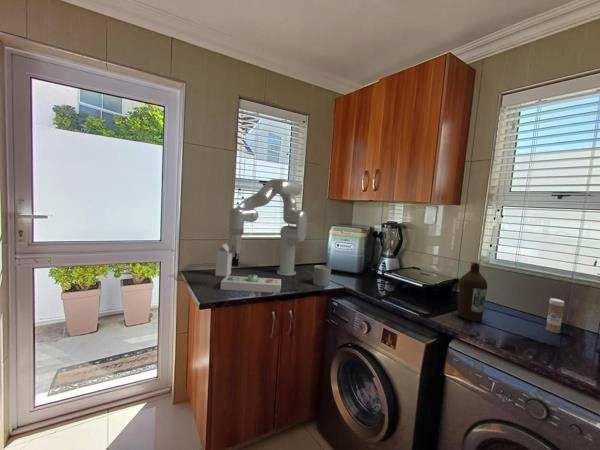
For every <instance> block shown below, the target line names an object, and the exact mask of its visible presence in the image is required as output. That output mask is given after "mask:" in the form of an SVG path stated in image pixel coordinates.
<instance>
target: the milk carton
mask: <svg viewBox="0 0 600 450" xmlns="http://www.w3.org/2000/svg"><path fill="white" fill-rule="evenodd" d="M228 251H229V245H228V243H223V244H222V245H220V246H219V247H218V250H216V254H215V255H216V256H215V257H216V258H215V276H216V277H224V278H225V277H226V276H231V274H232V253H230V254H229V253H228Z"/></svg>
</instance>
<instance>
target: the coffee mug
mask: <svg viewBox="0 0 600 450" xmlns="http://www.w3.org/2000/svg"><path fill="white" fill-rule="evenodd" d="M331 272H332V267H330V266H328V265H322V264H321V265H314V267H313V278H312V284H313V285H315V286H318V287H329V286H331V275H332V274H331Z"/></svg>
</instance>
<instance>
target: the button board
mask: <svg viewBox="0 0 600 450" xmlns="http://www.w3.org/2000/svg"><path fill="white" fill-rule="evenodd" d="M229 277H238V281H230V280H229ZM268 279H272V278H271V277H270V278H268V277H257V282H248V276H240V275H239V276H237V275H235V276H234V275H229V276H226V277H225V276H224V278H223V279H222V280H221V282H220V290H225V291H227V290H228V291H239V292H240V291H242V292H255V293H256V292H257V293H270V294H271V293H272V292H273V294H280V292H281V287H282V279H281V278H273V279H274V280H276V283H267V280H268Z"/></svg>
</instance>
